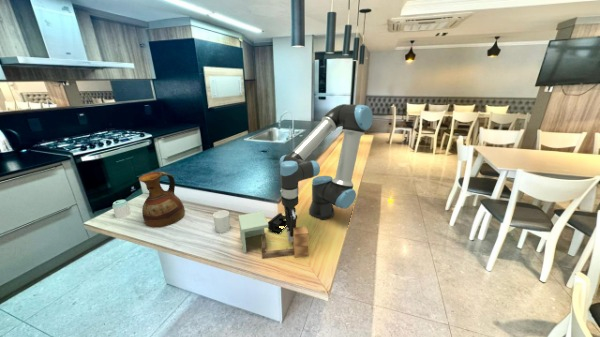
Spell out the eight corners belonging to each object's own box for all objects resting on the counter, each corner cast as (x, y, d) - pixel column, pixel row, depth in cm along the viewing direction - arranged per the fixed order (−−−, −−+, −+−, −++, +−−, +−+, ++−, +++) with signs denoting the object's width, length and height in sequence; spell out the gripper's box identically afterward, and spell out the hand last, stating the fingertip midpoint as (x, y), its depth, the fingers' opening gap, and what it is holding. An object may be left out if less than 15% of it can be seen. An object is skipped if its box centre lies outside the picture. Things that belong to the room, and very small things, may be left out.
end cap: (277, 222, 129) (277, 211, 127) (288, 225, 126) (288, 214, 124) (267, 231, 121) (266, 220, 119) (278, 235, 118) (277, 223, 116)
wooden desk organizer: (303, 239, 114) (303, 218, 110) (308, 256, 102) (308, 232, 99) (262, 243, 111) (260, 221, 107) (262, 261, 99) (260, 237, 96)
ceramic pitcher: (138, 226, 127) (124, 175, 117) (172, 210, 143) (162, 164, 134) (159, 235, 118) (147, 181, 108) (193, 217, 135) (184, 169, 125)
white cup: (225, 225, 127) (223, 208, 124) (234, 230, 122) (232, 213, 119) (212, 231, 121) (210, 214, 118) (220, 236, 116) (218, 219, 113)
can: (117, 225, 127) (111, 205, 124) (116, 220, 133) (111, 201, 129) (132, 220, 132) (127, 202, 128) (131, 216, 137) (126, 197, 133)
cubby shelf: (264, 232, 120) (262, 211, 116) (269, 247, 108) (268, 224, 104) (240, 237, 116) (238, 215, 112) (243, 253, 104) (241, 229, 100)
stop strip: (288, 230, 121) (288, 227, 121) (292, 237, 115) (292, 234, 115) (286, 230, 121) (286, 227, 120) (290, 238, 115) (290, 234, 114)
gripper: (277, 191, 106) (279, 234, 114) (285, 203, 95) (287, 250, 102) (293, 188, 109) (294, 231, 116) (302, 200, 97) (303, 247, 105)
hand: (291, 240), depth 109 cm, fingers closed
